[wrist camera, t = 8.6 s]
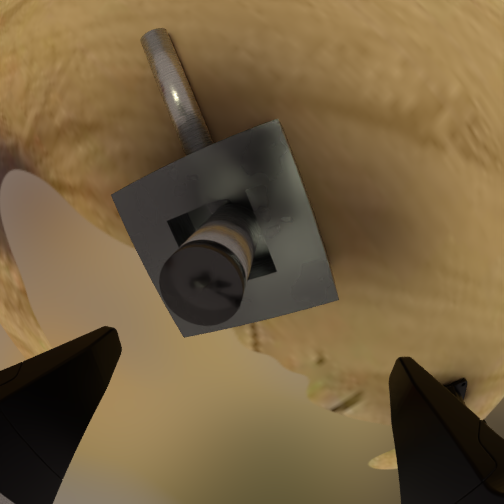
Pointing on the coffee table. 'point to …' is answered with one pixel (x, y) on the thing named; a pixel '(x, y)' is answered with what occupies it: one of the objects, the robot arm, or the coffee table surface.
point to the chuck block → (227, 192)
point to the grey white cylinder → (212, 267)
